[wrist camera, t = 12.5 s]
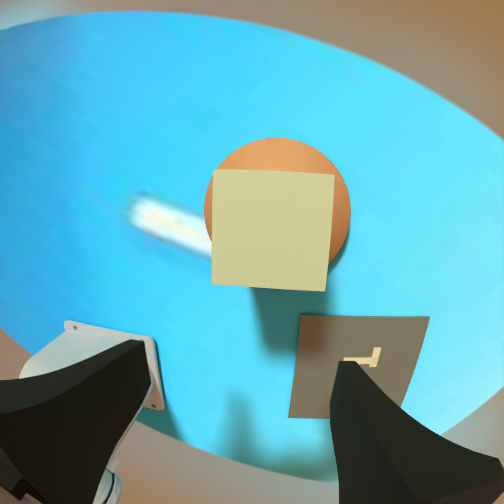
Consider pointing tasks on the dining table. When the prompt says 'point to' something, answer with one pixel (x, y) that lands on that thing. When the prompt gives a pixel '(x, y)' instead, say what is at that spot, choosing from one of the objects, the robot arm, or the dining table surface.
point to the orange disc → (293, 160)
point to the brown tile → (353, 356)
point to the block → (271, 228)
